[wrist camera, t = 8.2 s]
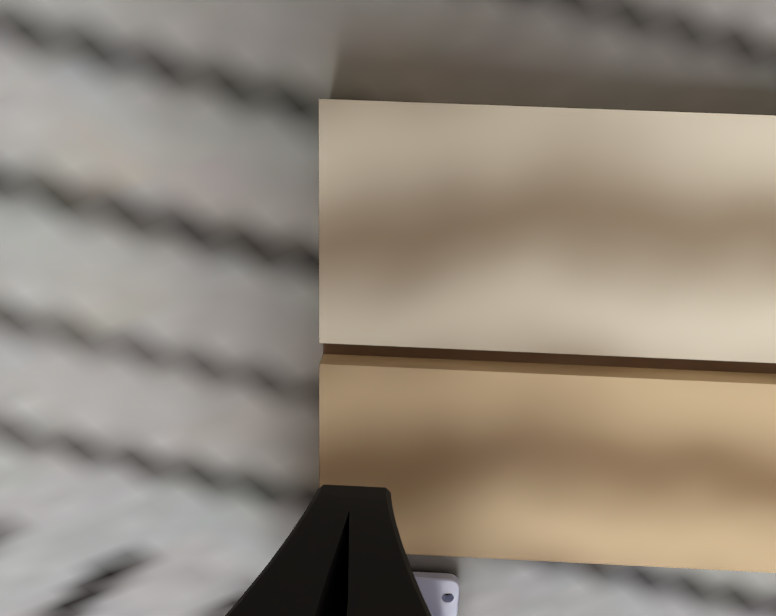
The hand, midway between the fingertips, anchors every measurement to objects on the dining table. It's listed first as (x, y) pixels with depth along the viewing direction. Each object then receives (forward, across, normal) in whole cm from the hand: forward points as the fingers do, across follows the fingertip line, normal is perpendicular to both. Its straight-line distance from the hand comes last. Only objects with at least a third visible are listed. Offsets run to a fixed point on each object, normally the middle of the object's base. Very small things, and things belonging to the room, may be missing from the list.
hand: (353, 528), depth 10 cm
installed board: (+10, -10, +4) cm, 15 cm away
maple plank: (+10, -10, -4) cm, 15 cm away
